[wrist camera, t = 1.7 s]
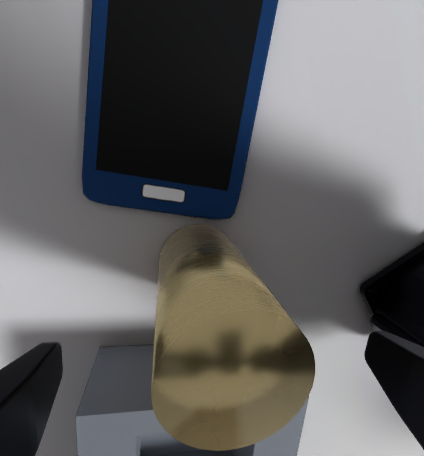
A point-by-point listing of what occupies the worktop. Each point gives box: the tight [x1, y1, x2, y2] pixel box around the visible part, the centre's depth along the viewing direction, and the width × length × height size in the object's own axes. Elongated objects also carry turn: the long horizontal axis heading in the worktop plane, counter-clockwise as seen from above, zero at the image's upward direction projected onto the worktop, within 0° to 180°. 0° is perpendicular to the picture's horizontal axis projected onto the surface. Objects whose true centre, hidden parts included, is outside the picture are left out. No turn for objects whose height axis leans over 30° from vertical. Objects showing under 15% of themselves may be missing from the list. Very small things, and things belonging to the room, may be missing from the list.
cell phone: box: [82, 0, 278, 219], centre depth 11 cm, size 7×14×1 cm, turn 170°
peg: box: [151, 224, 315, 451], centre depth 10 cm, size 4×4×8 cm
